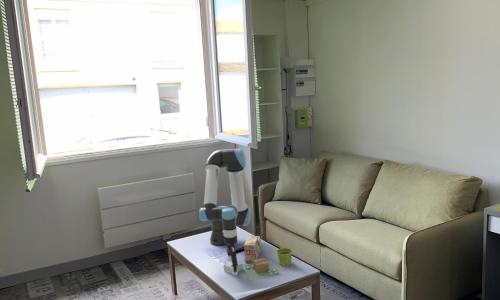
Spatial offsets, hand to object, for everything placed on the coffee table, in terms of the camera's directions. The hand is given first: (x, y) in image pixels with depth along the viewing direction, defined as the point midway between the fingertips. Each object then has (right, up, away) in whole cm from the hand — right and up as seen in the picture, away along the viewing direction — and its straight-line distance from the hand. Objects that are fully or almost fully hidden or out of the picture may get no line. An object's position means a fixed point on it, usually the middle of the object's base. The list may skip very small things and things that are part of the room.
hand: (233, 271), depth 237 cm
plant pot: (+30, +2, +4) cm, 30 cm away
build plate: (+16, 0, -3) cm, 16 cm away
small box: (0, -1, 0) cm, 1 cm away
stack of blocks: (+12, +3, +18) cm, 22 cm away
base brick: (+16, +2, -3) cm, 16 cm away
